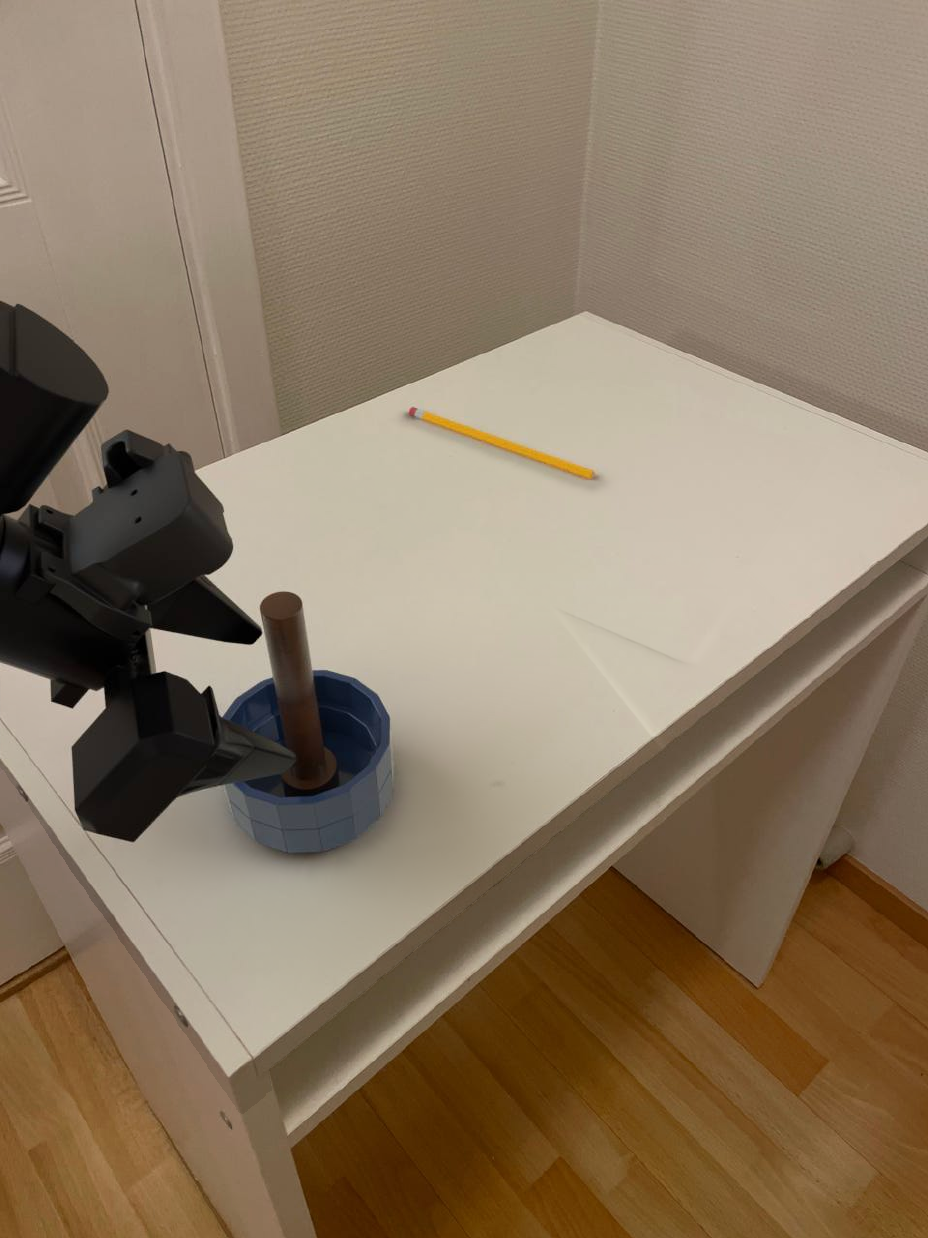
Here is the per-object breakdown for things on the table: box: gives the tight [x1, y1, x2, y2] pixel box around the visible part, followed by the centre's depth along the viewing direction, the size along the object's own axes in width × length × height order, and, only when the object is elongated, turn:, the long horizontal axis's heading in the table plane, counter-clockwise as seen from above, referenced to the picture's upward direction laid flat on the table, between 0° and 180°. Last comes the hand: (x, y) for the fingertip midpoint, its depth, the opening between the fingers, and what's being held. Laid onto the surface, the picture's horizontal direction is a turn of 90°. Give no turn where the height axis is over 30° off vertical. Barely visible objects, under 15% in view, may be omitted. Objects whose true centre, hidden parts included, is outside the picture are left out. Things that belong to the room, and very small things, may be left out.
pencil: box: [408, 406, 595, 480], centre depth 81 cm, size 1×18×1 cm, turn 57°
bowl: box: [221, 669, 395, 854], centre depth 53 cm, size 9×9×5 cm
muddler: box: [259, 591, 339, 797], centre depth 49 cm, size 3×3×14 cm
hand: (273, 696), depth 48 cm, fingers open, 9 cm apart
